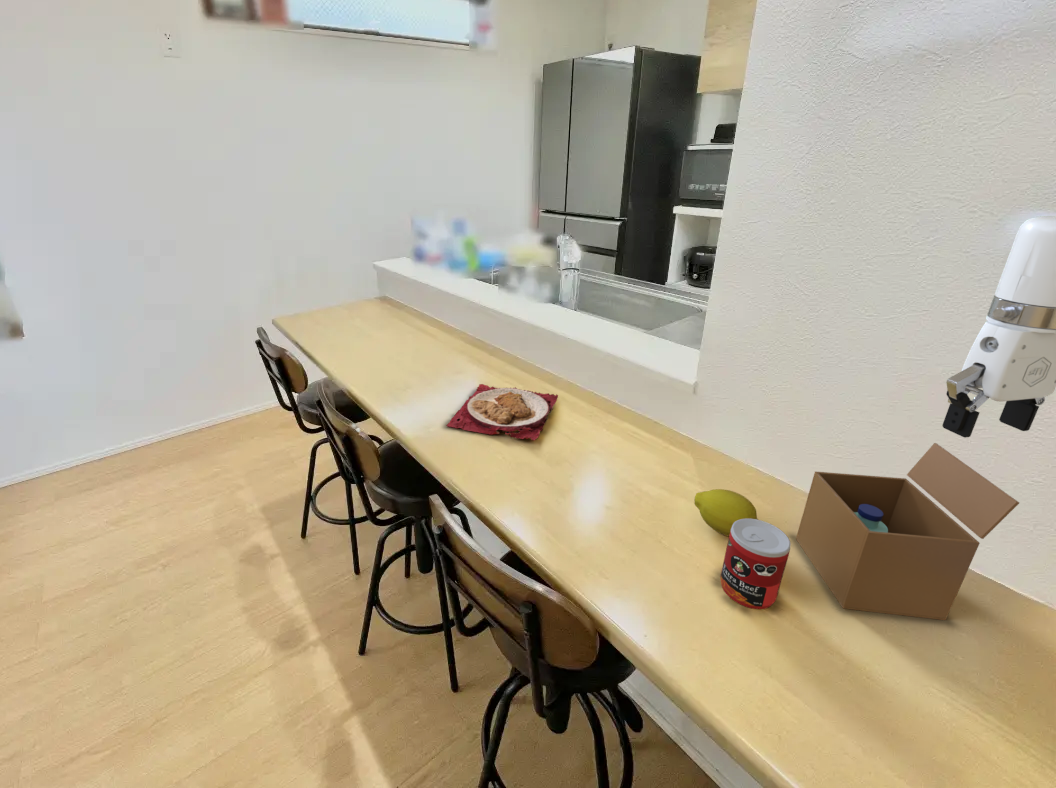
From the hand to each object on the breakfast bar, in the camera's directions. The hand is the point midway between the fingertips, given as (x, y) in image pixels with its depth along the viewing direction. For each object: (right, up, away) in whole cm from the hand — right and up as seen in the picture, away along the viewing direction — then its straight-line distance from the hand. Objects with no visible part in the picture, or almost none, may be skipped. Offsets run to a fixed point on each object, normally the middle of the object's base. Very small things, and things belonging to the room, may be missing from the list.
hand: (984, 429), depth 70 cm
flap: (-1, -9, +3) cm, 10 cm away
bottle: (-10, -26, +11) cm, 30 cm away
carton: (-8, -26, +11) cm, 29 cm away
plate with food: (-62, -8, +64) cm, 89 cm away
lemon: (-26, -23, +21) cm, 40 cm away
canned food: (-29, -27, +8) cm, 41 cm away
